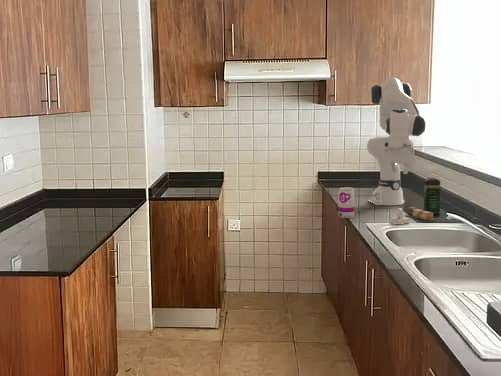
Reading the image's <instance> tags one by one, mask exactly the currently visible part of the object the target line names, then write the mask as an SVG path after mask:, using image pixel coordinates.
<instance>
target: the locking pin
mask: <svg viewBox="0 0 501 376" xmlns="http://www.w3.org/2000/svg"><path fill="white" fill-rule="evenodd" d="M396 217H397V219H402V217H403V208H401V207H400V208H396Z"/></svg>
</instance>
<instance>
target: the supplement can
mask: <svg viewBox="0 0 501 376" xmlns="http://www.w3.org/2000/svg"><path fill="white" fill-rule="evenodd" d="M337 196H338V197H337V198H338V199H337V200H338V201H337V203H338V204H337V205H338V206H337V207H338V217H339V218H341V219H351V218H355V216H356V212H355V211H356V209H355V207H356V203H355V199H356V198H355V189H354V188H353V187H350V186H346V187H345V186H344V187H339V189H338V190H337Z"/></svg>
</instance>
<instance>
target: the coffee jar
mask: <svg viewBox="0 0 501 376" xmlns="http://www.w3.org/2000/svg"><path fill="white" fill-rule="evenodd" d="M423 210H424V211H428V212H432V213H433V216H434V215H439V214H441V180H440V179H438V178H436V177H427V178H425V179H424V180H423Z"/></svg>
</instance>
